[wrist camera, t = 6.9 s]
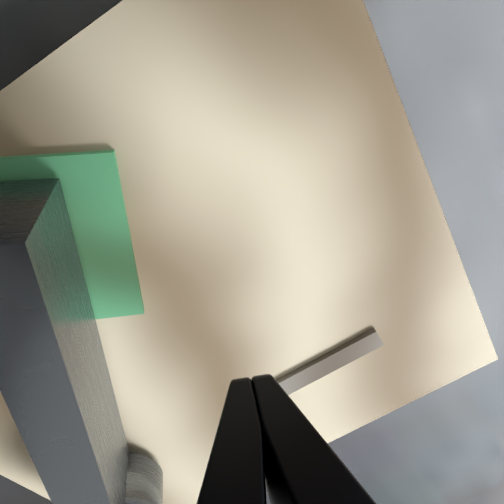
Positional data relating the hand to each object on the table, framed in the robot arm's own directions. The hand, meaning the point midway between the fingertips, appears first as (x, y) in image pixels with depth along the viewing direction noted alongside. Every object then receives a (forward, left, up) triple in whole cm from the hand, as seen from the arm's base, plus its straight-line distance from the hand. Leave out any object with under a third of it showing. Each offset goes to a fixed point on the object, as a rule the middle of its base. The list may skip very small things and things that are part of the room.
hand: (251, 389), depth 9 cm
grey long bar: (-6, -1, -4) cm, 8 cm away
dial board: (-3, -2, -6) cm, 6 cm away
